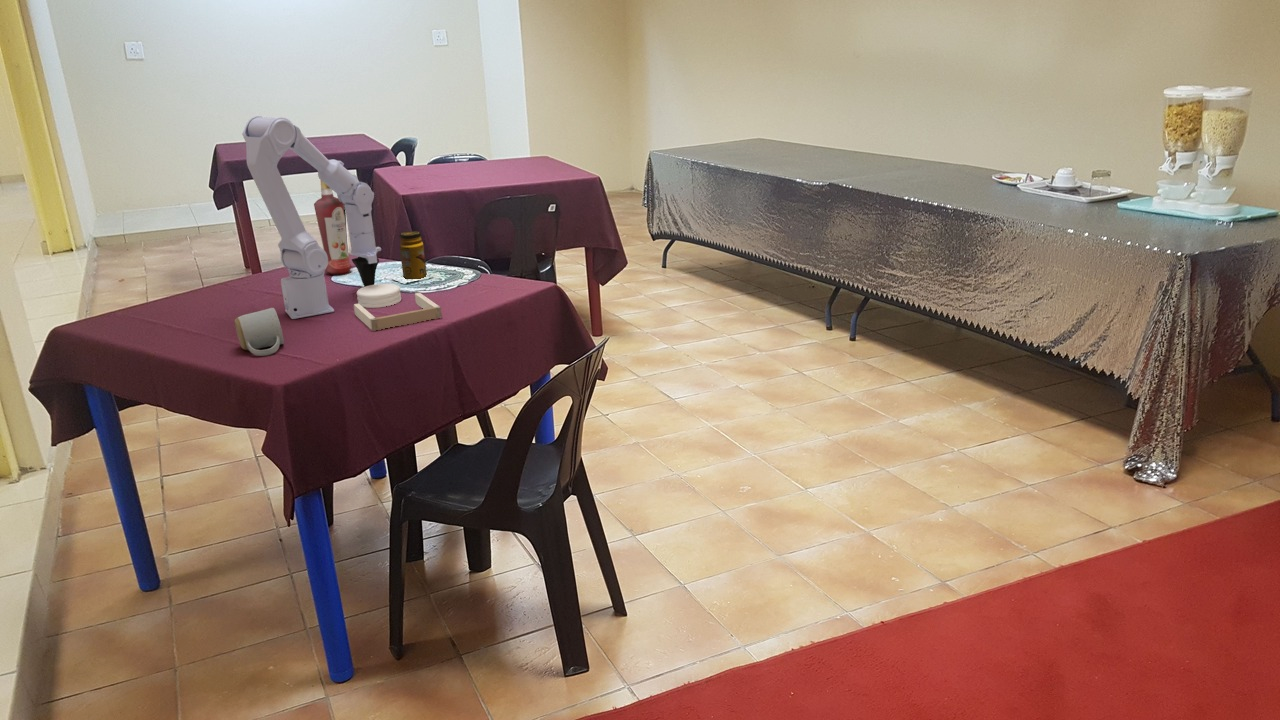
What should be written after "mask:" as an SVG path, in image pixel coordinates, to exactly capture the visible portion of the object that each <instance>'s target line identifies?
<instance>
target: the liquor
mask: <svg viewBox="0 0 1280 720" xmlns="http://www.w3.org/2000/svg"><path fill="white" fill-rule="evenodd" d="M333 192H334V191H333V190H332V189H331V188H330V187H329V186H327V185H326V184H325V183H324V182H323V181H322V180H320V194H321V197H320V198H319V199H317V200H316V201H315V202H314V203H313V207H314V212H315V217H316V221H317V226H318V230H319V236H320V240H321V244H322V249H323V250H324V251H325V252H326V254H327V256H328V265H327V267H326V269H325V271H326V272H328V273H329V274H330V275H332V276H339V275H340V274H341V275H346V274H348V273H349V272H350V271H351V269H352V268H353V266H352V264H351V263H350V256H349V255H350V254H349V248H348V247H349V246H348V238H347V237H348V236H347V227H346V214H345V211H344V210H345V205H344V203H342V202H340V201H339V199H338V197H335V196H334V193H333ZM345 273H346V274H345ZM341 275H340V276H341Z"/></svg>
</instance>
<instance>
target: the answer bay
mask: <svg viewBox="0 0 1280 720" xmlns="http://www.w3.org/2000/svg"><path fill="white" fill-rule="evenodd" d="M414 299H415V304H416V306H418V307H419V308H421V309H416V310H411V311H406V312H404V311H403V312H401V313H395V314H394V313H393V314H389V315H384V316H378V317H375V316H374V315H373V314H371V312H370V311H368V310H367V308H365V307H362V306H361V305H360V304H358V303H354V304H353V309H354V315H355V316H356V317H357V318H358V319H359V320H360V321H361V322H362V323H363V324H364V325H366V327H367V328H369V330H371V331H372V332H376V330H378V331H381V329H383V330H386V329H385V328H388V329H391V328H390V327H393V328H396V327H395V326H399V327H402V326H401V325H404V326H407V324H409V325H414V324H418V323H417V322H419V323H422V322H421V321H424V322H427V321H426V320H429V321H432V320H431V319H435V320H437V319H436V318H440V317H442V318H443V314H442V307H441V306H440V305H438V304H436V303H435V302H434V301H432V300H431V299H429V298H428V297H426V296H425V295H424V294H422V293H421V292H415V293H414ZM422 308H423V309H422ZM440 319H441V318H440ZM413 323H414V324H413Z"/></svg>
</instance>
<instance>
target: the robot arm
mask: <svg viewBox="0 0 1280 720" xmlns="http://www.w3.org/2000/svg"><path fill="white" fill-rule="evenodd" d="M241 134H242V137H243V139H244V141H245V146H246V147H245V148H246V156H245V157H246V166H247V168H248V170H249V172H250V175H251V177H252V179H253V182H254V183H255V185H256V188H257V190H258V191H259V193H260V196H261V198H262V200H263V202H264V204H265V207H266V208H267V210H268V213H269V214H270V217H271V218H272V221H273V223H274V226H275V227H276V230H277V232H278V234H279V236H280V237H281V238H280V241H279V242H278V244H277V246H278V248H279V251H280V261H281V264H282V265H283V267H284V268H285V269H287V271H288V274H289V276H287V277H282V278H281V279H280V287H281V293H282V297H283V304H284V309H285V311H284V312H285V313H286V314H287V315H288V316H289V318H290V319H291V320H296V319H299V318H300V319H301V318H306V317H312V316H317V315H323V314H330V313H334V312H335V309H334V308H333V306H331V305H330V304H329V297H328V292H327V285H326V280H325V279H326V278H325V273H326V272H325V271H326V270H325V269H326V267H327V265H328V256H327V254H326V252H325V251H324V250H323V247H321V246H320V244H318V241H317V239H315V237H314V236H312V235H311V233H309V232H308V231H307V230H306V228H305V226H304V223H303V221H302V219H301V217H300V215H299V213H298V210H297V208H296V206H295V204H294V201H293V199H292V198H291V194H290V192H289V190H288V188H287V186H286V184H285V182H284V179H283V178H282V175H281V173H280V171H279V168H278V164H279V162H280V160H281V159H282V157H283V156H285V154H286V153H287V152H288V150H290V151H292V152H293V153H295V154H296V155H297V156H298V157H300V158H301V159H302V160H303V161H305V162H306V163H307V164H309V165H310V166H312V167H313V168H314V169H315V170H317V177H318V178H319V180H320V181H321V180H322V181H323V182H324V183H325V184H326V185H327V186H329V187H330V188H331V189H332V192H334V193H335V194H336V195H337V198H338V199H339V201H340V202H342V203H343V205H344V210H345V218H346V223H347V229H348V236H349V242H350V255H351V256H353V257H355V258H352V259H351V261H352V263H353V264H354V266H355V267H356V269H357V272H358V274H359V276H360V279H361V282H362V285H363V287H366V286H370V285H375V281H376V271H377V267H378V265H379V262H380V259H379V258H378V256H377V254H378V252H381V251H382V248H381V247H380V246H376V245H377V244H376V240H375V230H374V225H373V223H374V222H373V216H372V210H373V207H372V204H373V201H374V197H375V192H374V191H372V189H371V186H370V185H369V184H367V183H366V182H363V181H359V179H358V176H357V175H356V174H353V173H352V172H350V171H349V170H348V169H347V168H346V167H345V166H344V165H345V163H344V162H343V161H341V160H337V159H328V157H326V155H324V154H323V153H322V152H321V151H320V150H319V149H318V148H317V146H315V145H314V144H313V143H312V142H311V141H310V140H309V139H308V138H307V137H306V136H305V135H304V134H303V133H302V131H301V129H300V128H299V126H297V125H295V124H294V123H292V121H291V120H290V119H288V118H286V117H284V116H283V117H282V116H279V117H267V116H266V117H263V116H261V115H260V116H259V115H258V116H254V117H251V118H250V119H248V121H247V122H246V125H245V127H244V129H243V132H242V133H241Z"/></svg>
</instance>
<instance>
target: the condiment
mask: <svg viewBox="0 0 1280 720" xmlns="http://www.w3.org/2000/svg"><path fill="white" fill-rule="evenodd" d="M421 235H422V234H421V232H420V231H417V230H416V231H415V230H413V231H403V232H401V233H400V234H399V238H400V239H399V242H400V244H399V253H400V260H401V261H400V262H401V263H400V264H401V269H402V276H403V277H404V278H405V279H421V278H424V277H426V275H427V276H428V274H427V273H428V272H427V262H426V255H425V246H424V242H423V240H422V236H421Z"/></svg>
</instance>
